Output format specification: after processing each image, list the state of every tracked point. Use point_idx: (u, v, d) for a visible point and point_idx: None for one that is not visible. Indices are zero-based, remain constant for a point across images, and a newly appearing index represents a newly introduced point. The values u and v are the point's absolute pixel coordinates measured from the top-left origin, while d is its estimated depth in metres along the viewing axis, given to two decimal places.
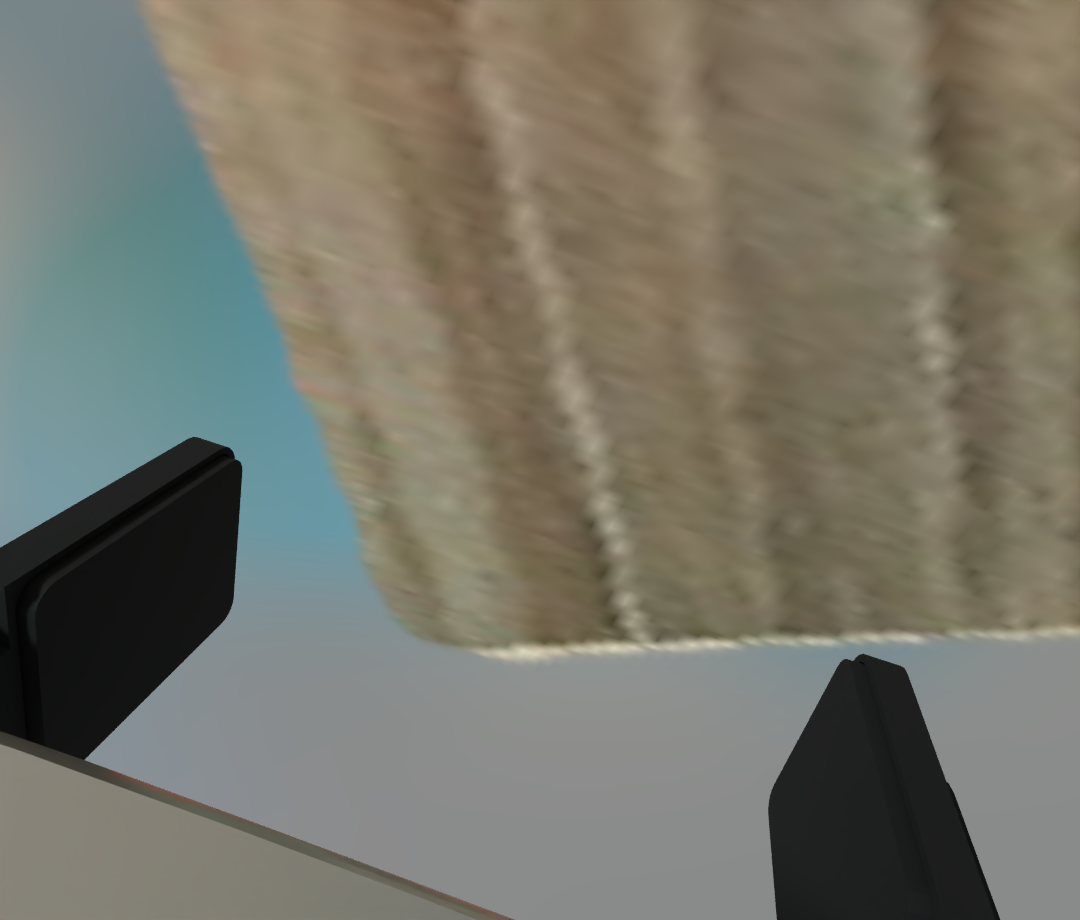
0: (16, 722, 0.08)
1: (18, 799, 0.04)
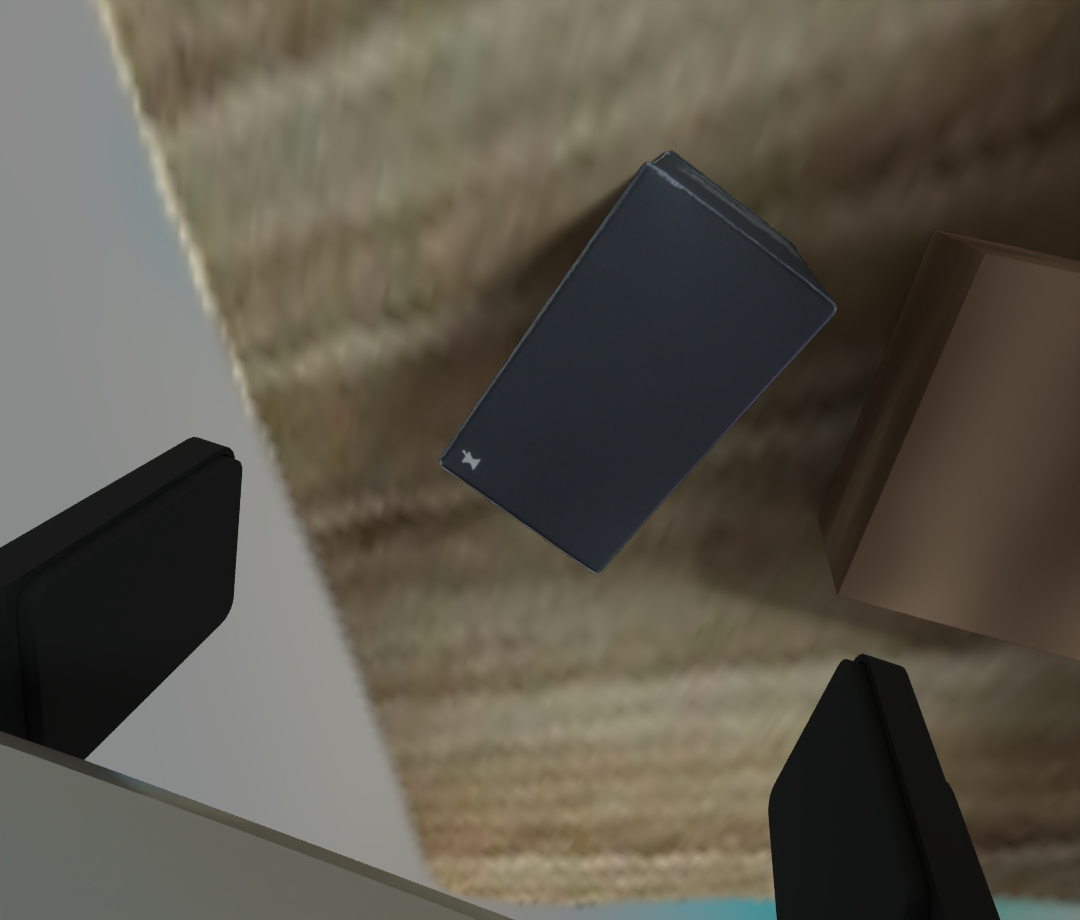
0: (16, 722, 0.08)
1: (18, 799, 0.04)
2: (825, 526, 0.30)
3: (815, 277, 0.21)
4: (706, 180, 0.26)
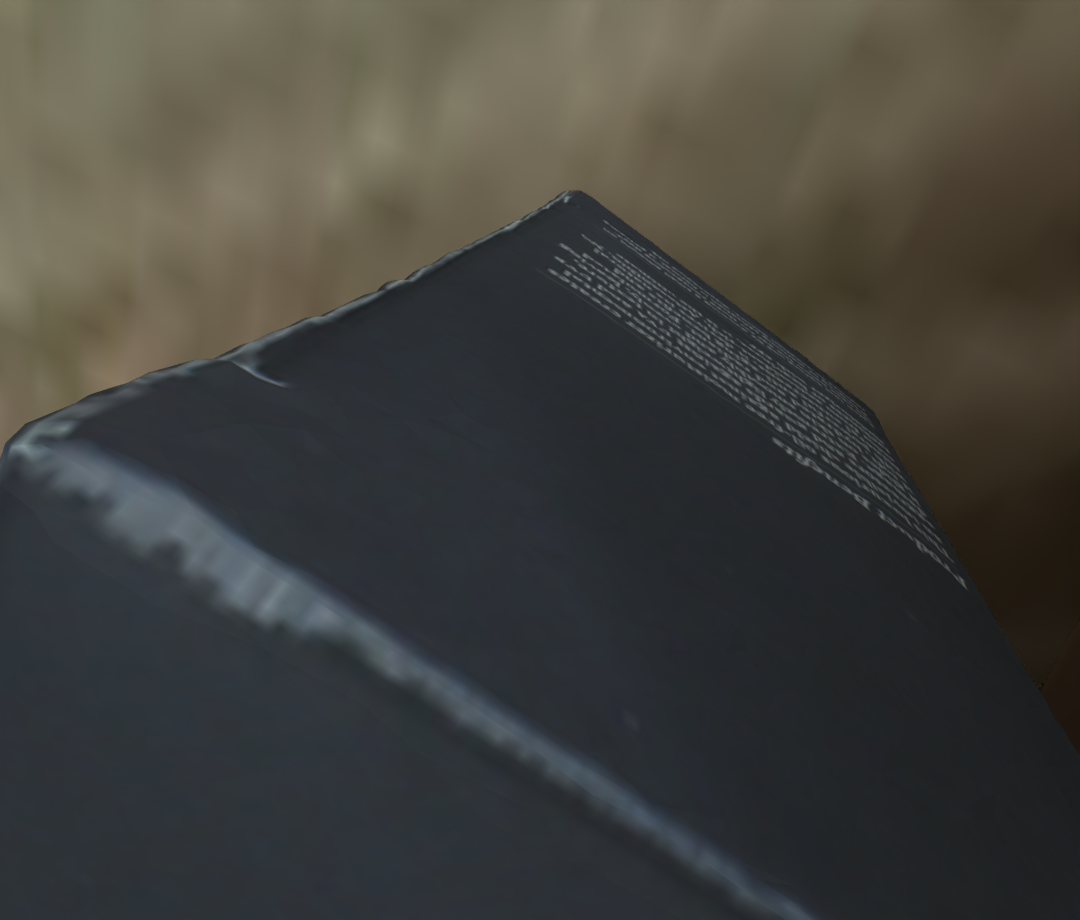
0: None
1: None
2: None
3: (1042, 699, 0.06)
4: (660, 267, 0.10)
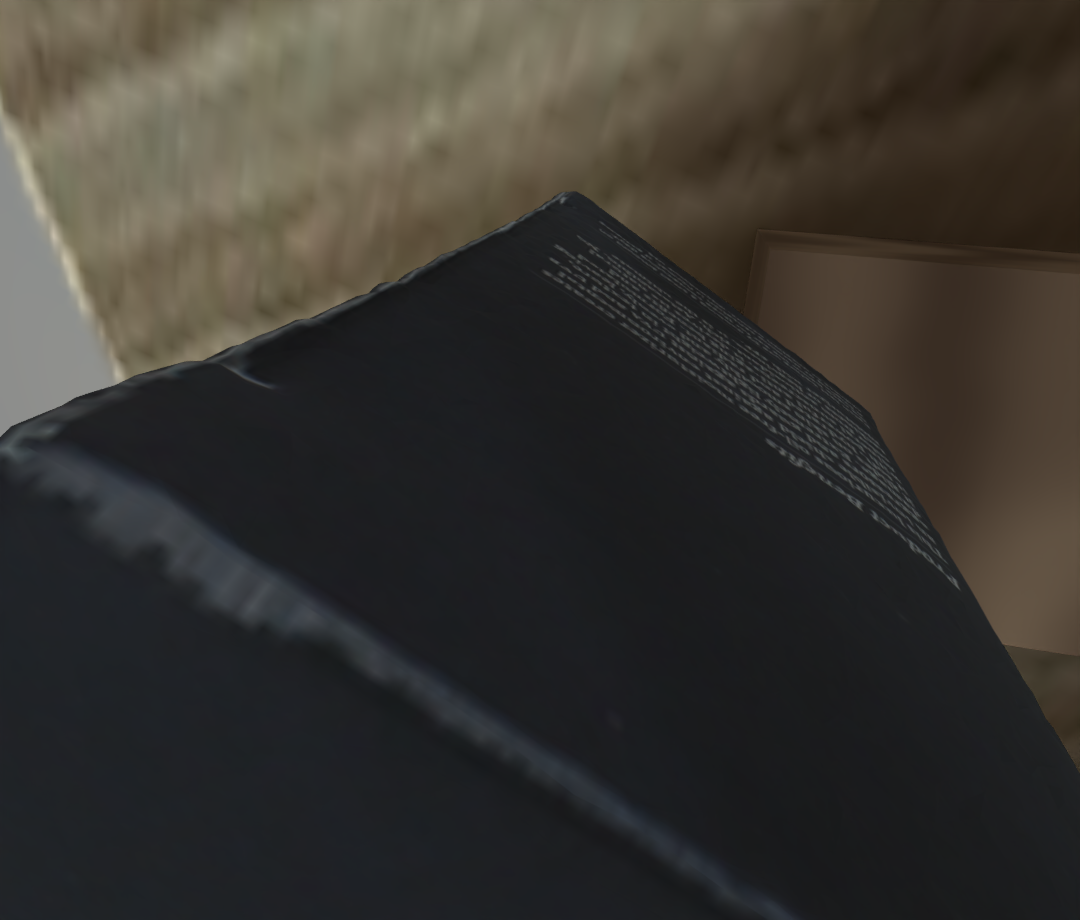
0: None
1: None
2: None
3: (1033, 699, 0.06)
4: (656, 268, 0.10)
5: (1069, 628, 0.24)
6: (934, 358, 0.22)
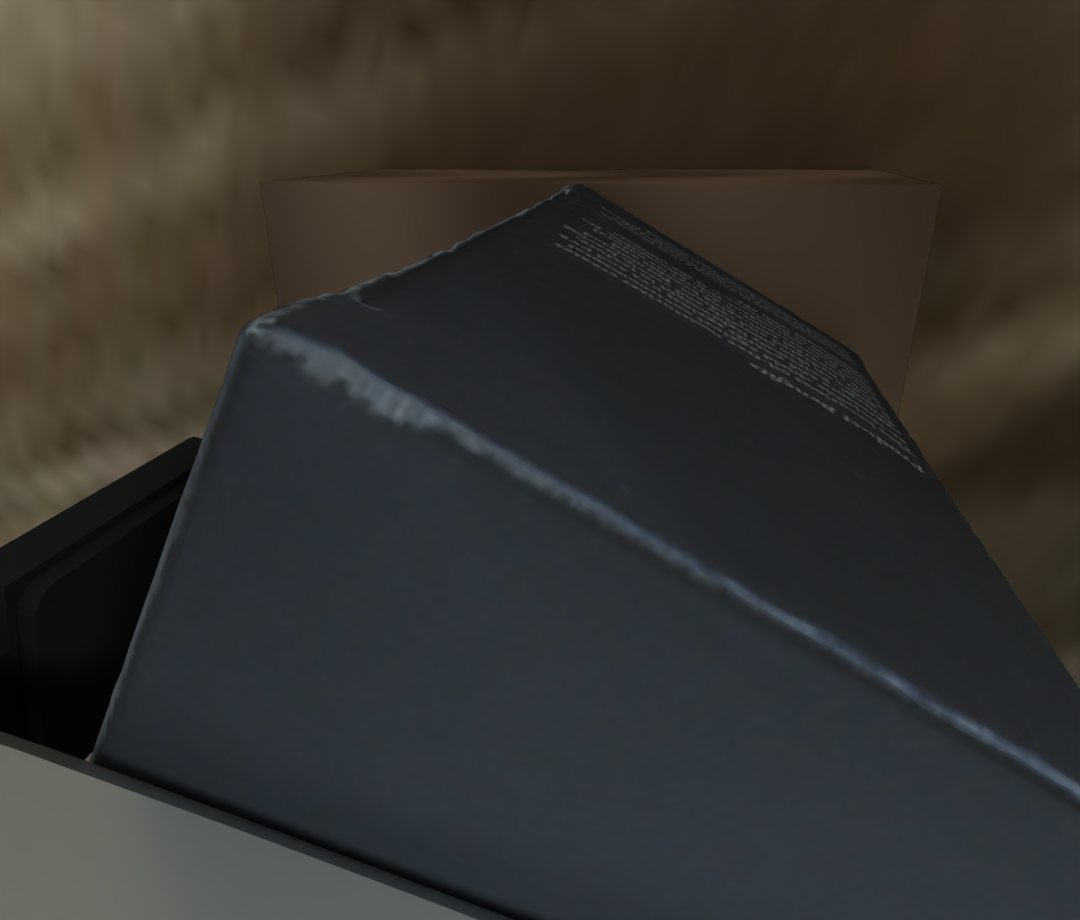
0: (17, 721, 0.08)
1: (18, 799, 0.04)
2: None
3: (979, 543, 0.07)
4: (654, 242, 0.12)
5: None
6: None
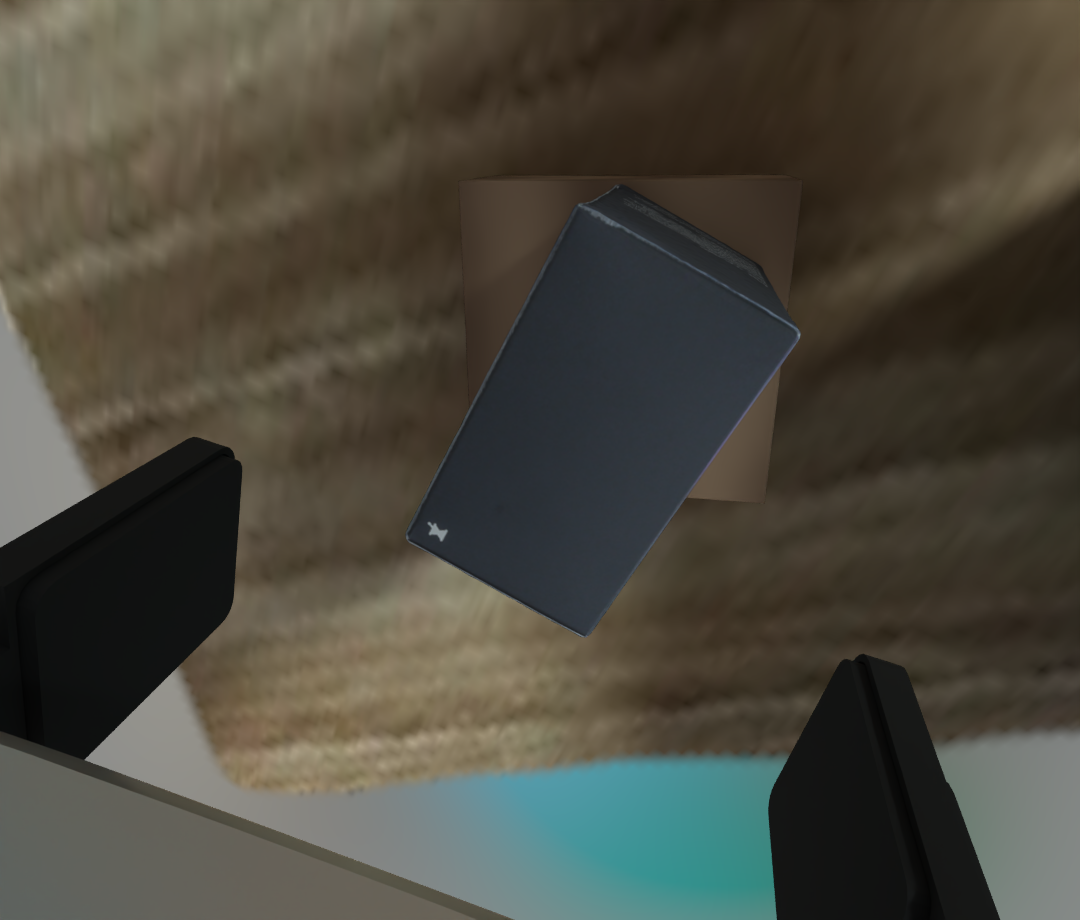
0: (17, 722, 0.08)
1: (18, 799, 0.04)
2: None
3: (779, 300, 0.20)
4: (659, 210, 0.25)
5: (749, 479, 0.29)
6: None
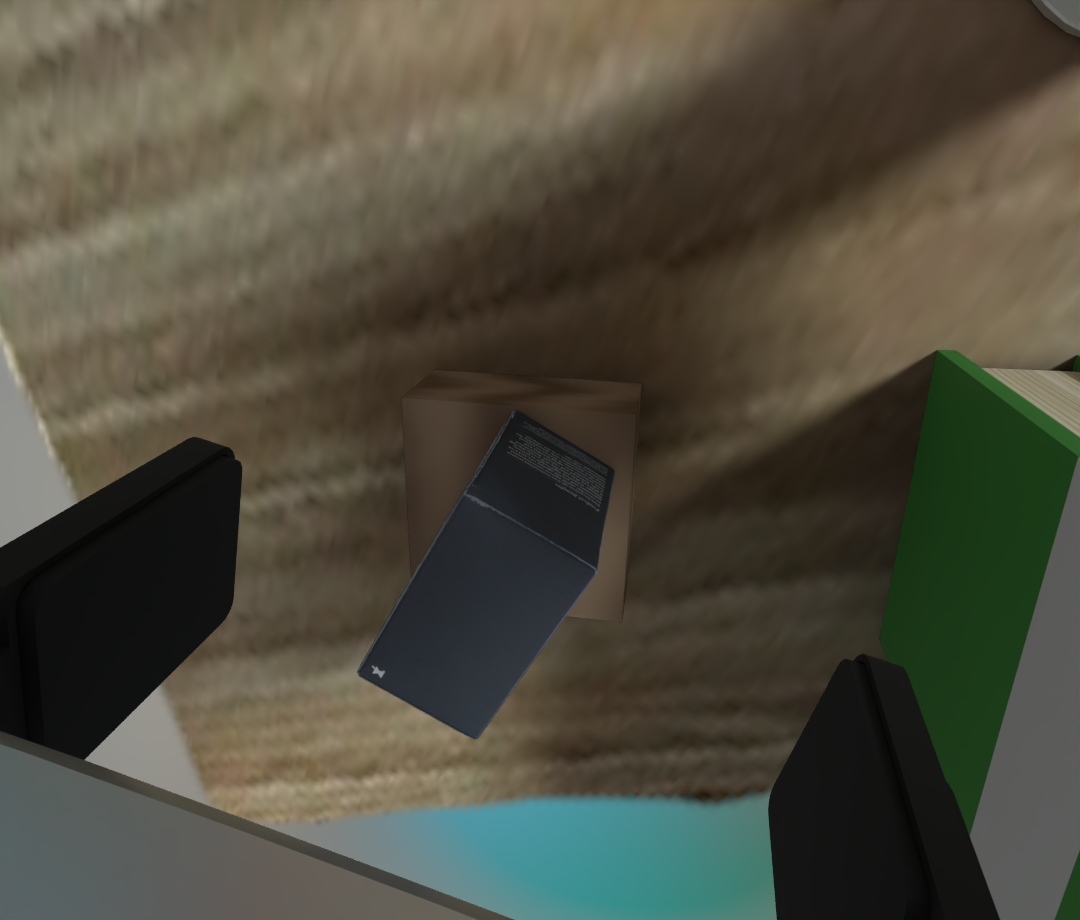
0: (17, 722, 0.08)
1: (18, 799, 0.04)
2: None
3: (601, 527, 0.31)
4: (541, 434, 0.36)
5: (610, 605, 0.41)
6: None
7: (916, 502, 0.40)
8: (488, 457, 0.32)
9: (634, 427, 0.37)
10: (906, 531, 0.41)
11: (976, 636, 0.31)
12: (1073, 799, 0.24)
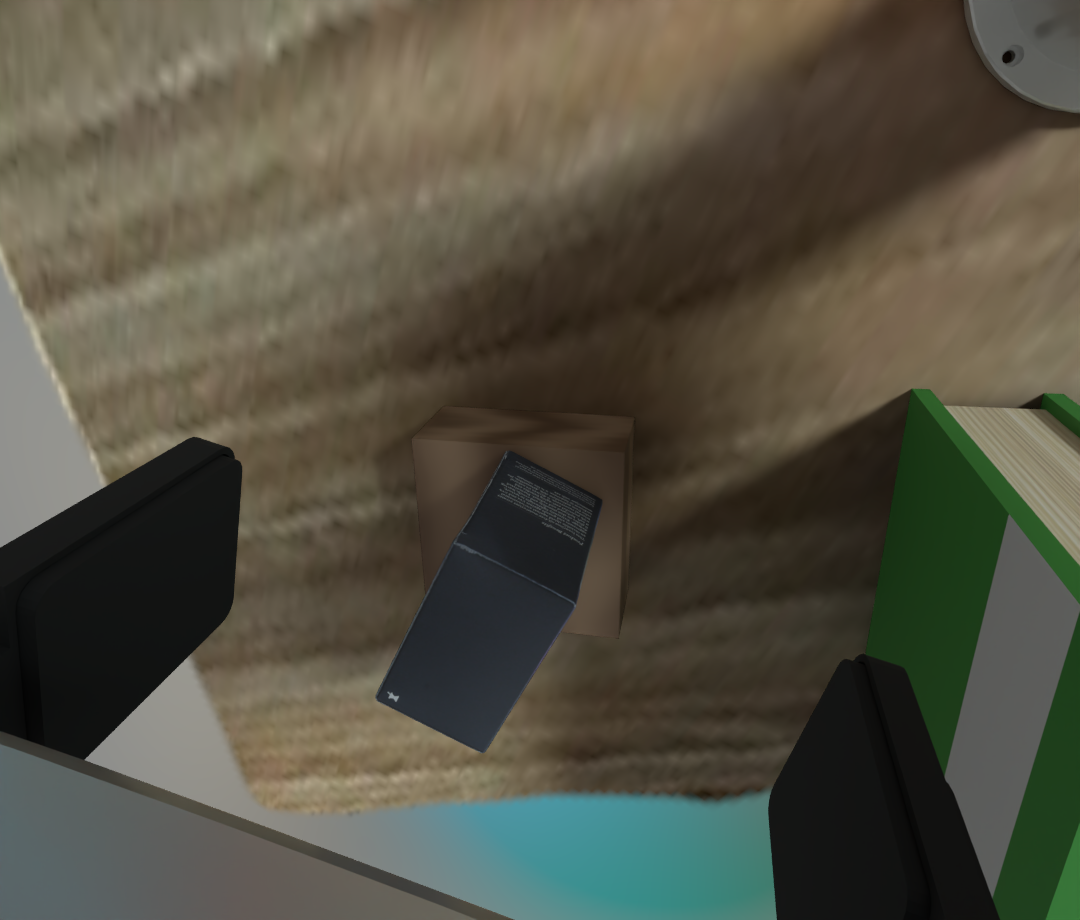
0: (16, 722, 0.08)
1: (17, 799, 0.04)
2: None
3: (583, 561, 0.35)
4: (531, 472, 0.40)
5: (607, 623, 0.44)
6: None
7: (894, 529, 0.43)
8: (479, 503, 0.35)
9: (623, 464, 0.40)
10: (886, 555, 0.44)
11: (935, 663, 0.34)
12: (999, 818, 0.27)
